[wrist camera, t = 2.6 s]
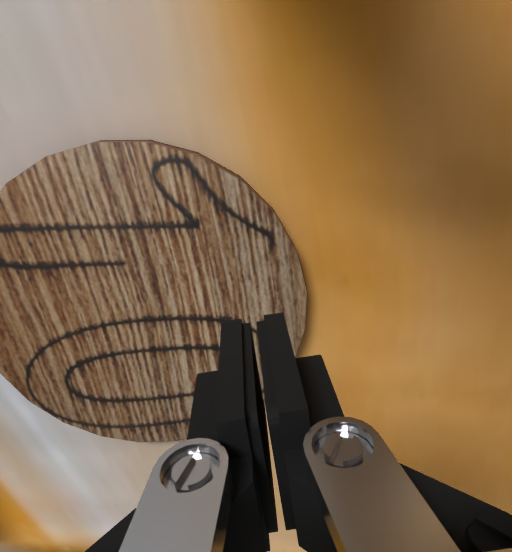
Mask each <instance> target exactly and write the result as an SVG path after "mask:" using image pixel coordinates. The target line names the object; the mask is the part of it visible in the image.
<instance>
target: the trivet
mask: <svg viewBox="0 0 512 552" xmlns="http://www.w3.org/2000/svg"><path fill="white" fill-rule="evenodd" d="M306 295H307V290H306V286H305V282H304V278H303V274H302V270H301V266H300V262H299V258H298V254H297V251H296V248H295V246H294V244H293V242H292V240H291V239H290V237H289V235H288V234H287V232H286V230H285V228H284V227H283V225H282V223H281V221H280V220H279V218H278V216H277V215H276V213H275V211H274V209H273V208H272V207H271V206H270V205H269V204H268V203H267V202H266V201H265V200H264V199H263V198H262V197H261V196H260V195H259V194H258V193H257V192H256V191H255V190H254V189H253V188H252V187H251V186H250V185H249V184H248V183H247V182H246V181H245V180H244V179H243V178H242V177H241V176H239V175H237V174H235V173H234V172H232V171H230V170H228V169H227V168H225V167H223V166H221V165H220V164H218V163H216V162H214V161H213V160H211V159H209V158H207V157H205V156H204V155H202V154H200V153H198V152H195V151H191V150H187V149H183V148H179V147H175V146H172V145H168V144H164V143H160V142H156V141H153V140H101V141H97V142H93V143H90V144H87V145H83V146H80V147H77V148H73V149H70V150H67V151H63V152H60V153H57V154H53V155H50V156H47V157H45V158H43V159H42V160H40V161H39V162H37V163H36V164H34V165H33V166H31V167H30V168H28V169H27V170H25V171H24V172H22V173H21V174H19V175H18V176H16V177H15V178H13V179H12V180H11V181H9V182H8V183H6V184H5V186H4V187H3V188H2V190H1V191H0V373H1V374H2V375H3V376H4V377H5V378H6V379H7V380H8V381H9V382H10V383H11V384H12V385H13V386H14V387H15V388H16V389H17V390H18V391H19V392H20V393H21V394H22V395H23V396H24V397H26V398H27V399H28V400H29V401H30V402H31V403H33V404H35V405H36V406H38V407H39V408H41V409H43V410H44V411H46V412H48V413H49V414H51V415H52V416H54V417H56V418H57V419H59V420H61V421H62V422H64V423H67V424H69V425H72V426H75V427H78V428H80V429H83V430H86V431H89V432H91V433H94V434H97V435H100V436H104V437H110V438H117V439H123V440H130V441H136V442H152V441H176V440H181V439H185V438H187V436H188V429H189V423H190V416H191V409H192V403H193V396H194V390H195V383H196V377H197V374H198V373H204V372H210V371H217V370H218V366H219V350H220V335H221V322H222V321H229V320H235V319H242V322H243V324H244V323H250V324H251V330H252V336H253V342H254V347H255V353H256V359H257V365H258V371H259V377H260V383H261V389H262V395H263V400H264V399H265V395H264V386H263V377H262V368H261V359H260V350H259V341H258V332H257V323H256V322H257V321H263V320H264V315H267V314H274V313H280V312H283V313H284V317H285V321H286V325H287V329H288V332H289V336H290V340H291V344H292V348H293V352H294V356H296V353H297V350H298V347H299V345H300V342H301V339H302V336H303V333H304V330H305V317H306Z"/></svg>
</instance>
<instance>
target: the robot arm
mask: <svg viewBox="0 0 512 552" xmlns="http://www.w3.org/2000/svg"><path fill="white" fill-rule="evenodd" d="M256 323H257V332H258V341H259V350H260V359H261V368H262V377H263V386H264V395H265V404H266V412H267V419H268V426H269V432H270V438H271V444H272V450H273V456H274V462H275V468H276V474H277V479H278V485H279V491H280V497H281V503H282V509H283V515H284V521H285V527H286V530H291V529H296V531H297V537H298V544H299V546H300V547H302V548H303V549H304V550H306V551H307V552H512V515H510V514H509V513H507V512H505V511H502V510H500V509H498V508H496V507H494V506H492V505H489V504H487V503H485V502H483V501H481V500H478V499H476V498H474V497H472V496H470V495H468V494H465V493H463V492H461V491H459V490H457V489H455V488H452V487H450V486H448V485H446V484H444V483H441V482H439V481H437V480H435V479H433V478H431V477H428V476H426V475H424V474H422V473H420V472H418V471H415V470H413V469H411V468H409V467H407V466H405V465H402V464H400V463H399V462H398V461H397V459H396V458H395V456H394V455H393V454H392V452H391V451H390V449H389V448H388V446H387V445H386V443H385V442H384V441H383V439H382V438H381V436H380V435H379V433H378V432H377V431H376V430H375V429H374V428H373V427H372V426H370V425H369V424H367V423H365V422H364V421H362V420H358V419H355V418H352V417H344V415H343V412H342V409H341V407H340V404H339V401H338V399H337V396H336V393H335V391H334V388H333V385H332V383H331V380H330V377H329V375H328V372H327V369H326V367H325V364H324V361H323V359H322V356H321V355H315V356H308V357H302V358H295V356H294V352H293V348H292V344H291V340H290V336H289V332H288V329H287V325H286V321H285V317H284V313H283V312H280V313H274V314H267V315H264V320H263V321H257V322H256ZM271 532H278V525H277V516H276V506H275V497H274V488H273V478H272V469H271V460H270V450H269V441H268V432H267V422H266V414H265V407H264V401H263V395H262V389H261V383H260V377H259V371H258V365H257V359H256V353H255V347H254V342H253V336H252V330H251V324H250V323H244V324H243V322H242V319H235V320H229V321H222V322H221V335H220V350H219V366H218V370H217V371H210V372H204V373H198V374H197V377H196V383H195V390H194V396H193V403H192V409H191V416H190V423H189V429H188V436H187V440H186V441H183V442H180V443H178V444H176V445H174V446H173V447H171V448H170V449H168V450H167V451H166V452H165V453H164V454H163V455H162V456H161V457H160V458H159V459H158V461H157V462H156V464H155V466H154V467H153V469H152V472H151V474H150V477H149V479H148V482H147V484H146V486H145V489H144V491H143V494H142V496H141V499H140V501H139V503H138V506H137V508H135V509H134V510H133V511H132V512H131V513H130V514H128V515H127V516H126V517H125V518H124V519H123V520H121V521H120V522H119V523H118V524H117V525H115V526H114V527H113V528H112V529H111V530H110V531H108V532H107V533H106V534H105V535H104V536H103V537H101V538H100V539H99V540H98V541H97V542H95V543H94V544H93V545H92V546H91V547H90V548H88V549H87V550H86V551H85V552H266V551H270V543H269V533H271Z"/></svg>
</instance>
